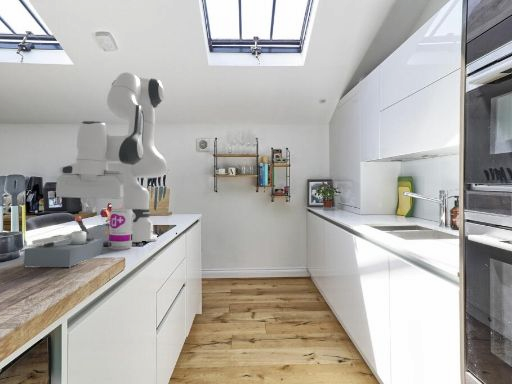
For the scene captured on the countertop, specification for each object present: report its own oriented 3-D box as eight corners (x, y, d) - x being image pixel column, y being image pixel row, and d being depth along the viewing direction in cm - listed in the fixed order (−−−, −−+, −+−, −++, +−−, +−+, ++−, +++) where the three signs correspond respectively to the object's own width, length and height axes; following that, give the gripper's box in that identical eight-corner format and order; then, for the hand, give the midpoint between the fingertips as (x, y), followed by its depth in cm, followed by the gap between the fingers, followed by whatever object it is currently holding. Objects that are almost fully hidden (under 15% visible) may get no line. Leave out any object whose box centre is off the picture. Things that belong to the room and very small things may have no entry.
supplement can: (123, 250, 115) (125, 209, 115) (103, 249, 116) (105, 208, 117) (136, 247, 123) (137, 209, 123) (117, 245, 124) (119, 208, 125)
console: (66, 252, 108) (67, 235, 108) (102, 253, 108) (103, 236, 108) (23, 267, 86) (24, 245, 86) (69, 268, 86) (70, 246, 87)
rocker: (41, 242, 93) (40, 238, 93) (65, 238, 93) (64, 234, 93) (32, 244, 89) (31, 240, 89) (57, 239, 89) (57, 235, 89)
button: (75, 242, 99) (75, 230, 99) (88, 242, 99) (88, 231, 99) (68, 244, 95) (69, 232, 95) (82, 244, 95) (82, 232, 96)
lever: (85, 235, 104) (75, 217, 104) (91, 232, 104) (81, 214, 104) (82, 236, 102) (72, 218, 102) (88, 233, 102) (78, 215, 102)
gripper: (127, 171, 106) (125, 212, 106) (64, 169, 105) (63, 210, 105) (120, 170, 100) (118, 213, 100) (53, 167, 99) (52, 211, 98)
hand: (89, 212), depth 102 cm, fingers closed
